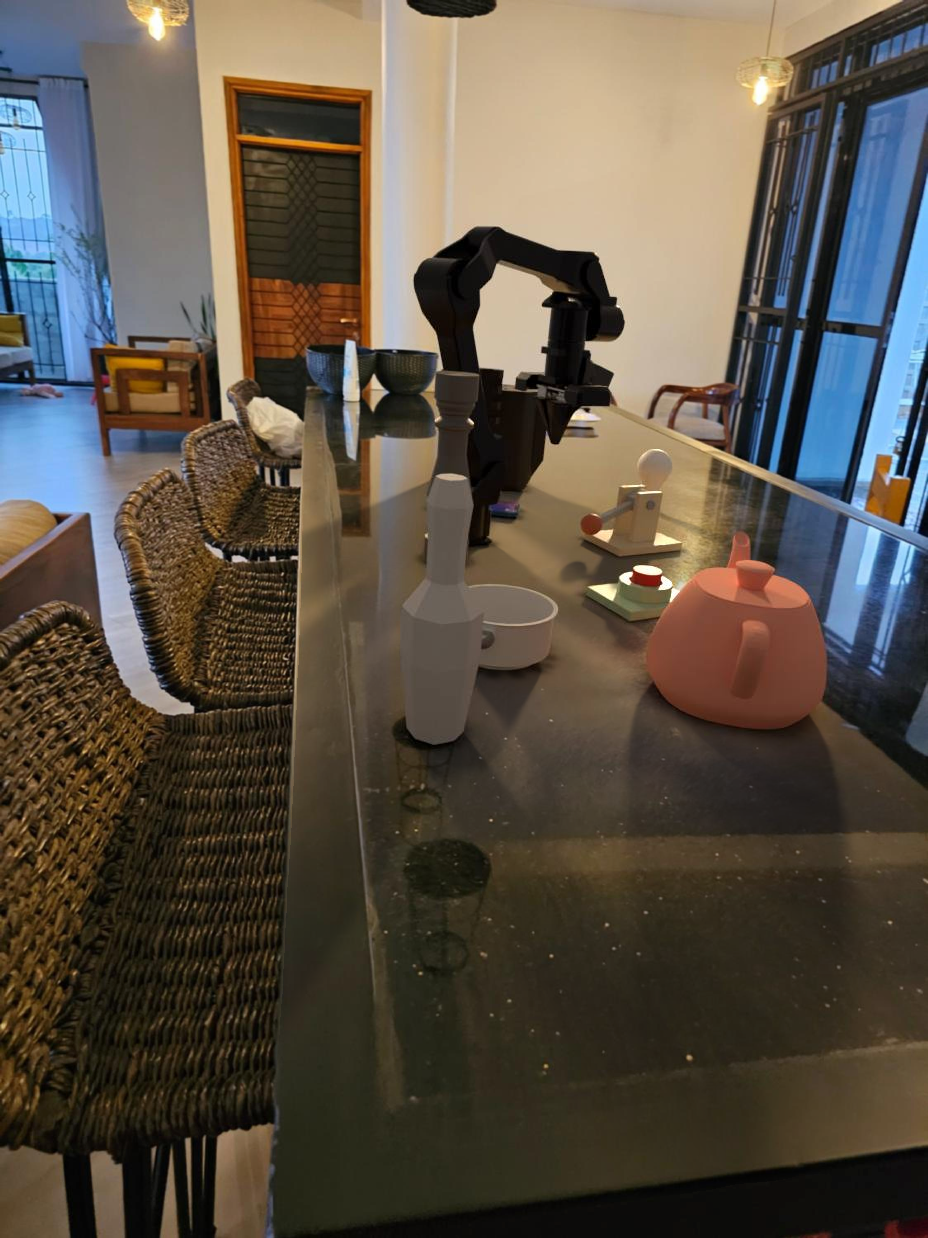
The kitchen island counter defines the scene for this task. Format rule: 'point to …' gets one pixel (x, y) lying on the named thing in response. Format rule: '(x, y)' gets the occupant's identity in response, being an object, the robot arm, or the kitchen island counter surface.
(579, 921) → the kitchen island counter surface
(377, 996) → the kitchen island counter surface
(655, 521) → the switch bracket
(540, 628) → the saucepan
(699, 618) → the teapot
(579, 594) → the kitchen island counter surface
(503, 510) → the smartphone
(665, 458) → the lightbulb
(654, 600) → the button housing
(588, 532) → the switch lever
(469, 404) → the candle holder
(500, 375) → the brown vase set
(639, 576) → the button
